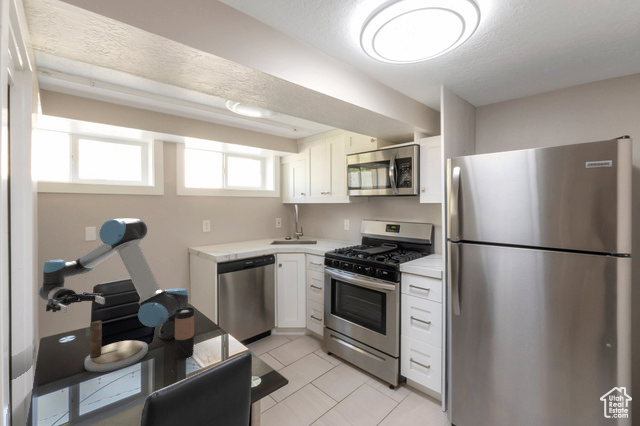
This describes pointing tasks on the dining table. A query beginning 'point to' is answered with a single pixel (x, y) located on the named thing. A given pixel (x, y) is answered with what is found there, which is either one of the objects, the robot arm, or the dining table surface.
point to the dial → (110, 347)
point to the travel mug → (184, 333)
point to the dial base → (115, 365)
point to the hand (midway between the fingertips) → (85, 305)
